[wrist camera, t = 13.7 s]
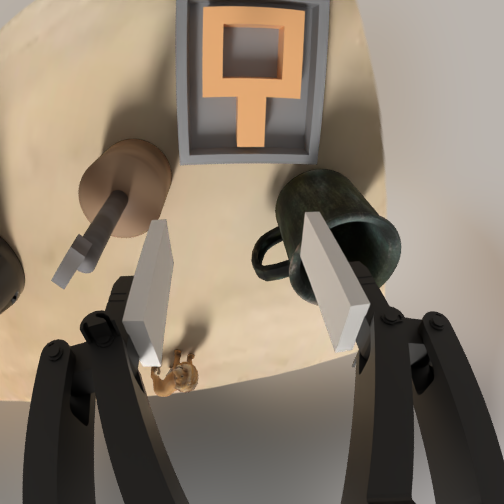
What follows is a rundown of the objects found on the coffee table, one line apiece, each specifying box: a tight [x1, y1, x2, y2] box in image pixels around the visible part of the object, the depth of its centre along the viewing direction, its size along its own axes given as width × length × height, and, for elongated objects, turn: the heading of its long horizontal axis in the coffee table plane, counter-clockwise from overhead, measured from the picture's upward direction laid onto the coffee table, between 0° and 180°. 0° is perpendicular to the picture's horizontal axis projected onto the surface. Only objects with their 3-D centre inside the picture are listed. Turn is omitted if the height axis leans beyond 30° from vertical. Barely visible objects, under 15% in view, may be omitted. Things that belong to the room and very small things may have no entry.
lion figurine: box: [151, 350, 198, 396], centre depth 50 cm, size 15×5×9 cm, turn 142°
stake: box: [51, 139, 172, 289], centre depth 25 cm, size 9×9×18 cm
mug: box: [251, 169, 401, 306], centre depth 32 cm, size 11×15×12 cm
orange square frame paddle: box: [202, 6, 305, 147], centre depth 25 cm, size 14×9×3 cm, turn 178°
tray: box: [176, 0, 330, 165], centre depth 26 cm, size 14×18×3 cm
